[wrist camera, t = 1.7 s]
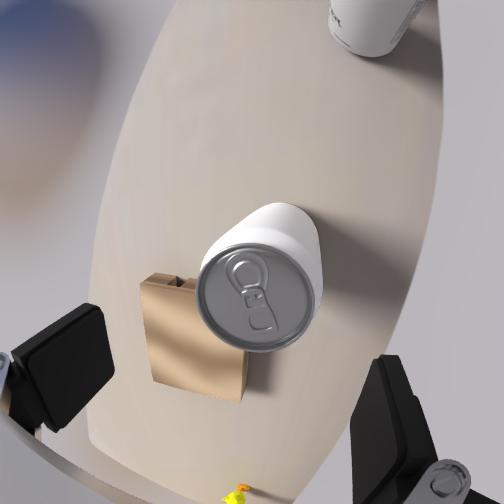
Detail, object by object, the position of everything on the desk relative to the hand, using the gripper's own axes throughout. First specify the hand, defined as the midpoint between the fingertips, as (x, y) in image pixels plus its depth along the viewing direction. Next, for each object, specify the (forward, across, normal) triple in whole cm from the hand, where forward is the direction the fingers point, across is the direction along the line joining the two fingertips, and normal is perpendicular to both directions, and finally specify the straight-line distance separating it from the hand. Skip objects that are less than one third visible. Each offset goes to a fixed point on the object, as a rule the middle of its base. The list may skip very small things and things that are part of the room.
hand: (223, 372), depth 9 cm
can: (+17, 0, -1) cm, 17 cm away
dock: (+17, +7, +10) cm, 21 cm away
